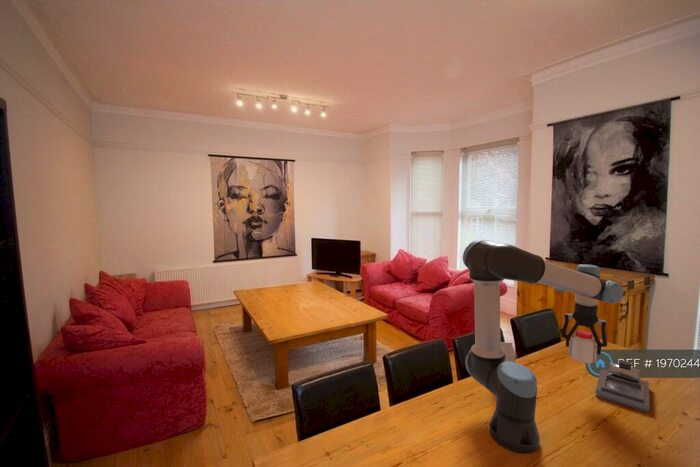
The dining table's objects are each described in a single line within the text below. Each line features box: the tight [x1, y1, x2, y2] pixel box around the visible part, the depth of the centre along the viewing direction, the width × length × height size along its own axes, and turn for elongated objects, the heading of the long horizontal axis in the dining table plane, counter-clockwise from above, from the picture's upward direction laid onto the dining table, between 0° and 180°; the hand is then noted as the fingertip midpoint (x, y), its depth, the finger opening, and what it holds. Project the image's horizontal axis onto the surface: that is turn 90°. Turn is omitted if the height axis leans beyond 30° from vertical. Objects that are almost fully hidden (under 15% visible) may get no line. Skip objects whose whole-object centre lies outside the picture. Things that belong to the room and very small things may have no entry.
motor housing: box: [595, 359, 650, 414], centre depth 135 cm, size 22×16×10 cm
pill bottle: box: [570, 329, 596, 364], centre depth 132 cm, size 8×8×11 cm
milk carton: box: [500, 341, 517, 363], centre depth 140 cm, size 7×7×19 cm
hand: (582, 357), depth 133 cm, fingers closed on pill bottle, 8 cm apart
